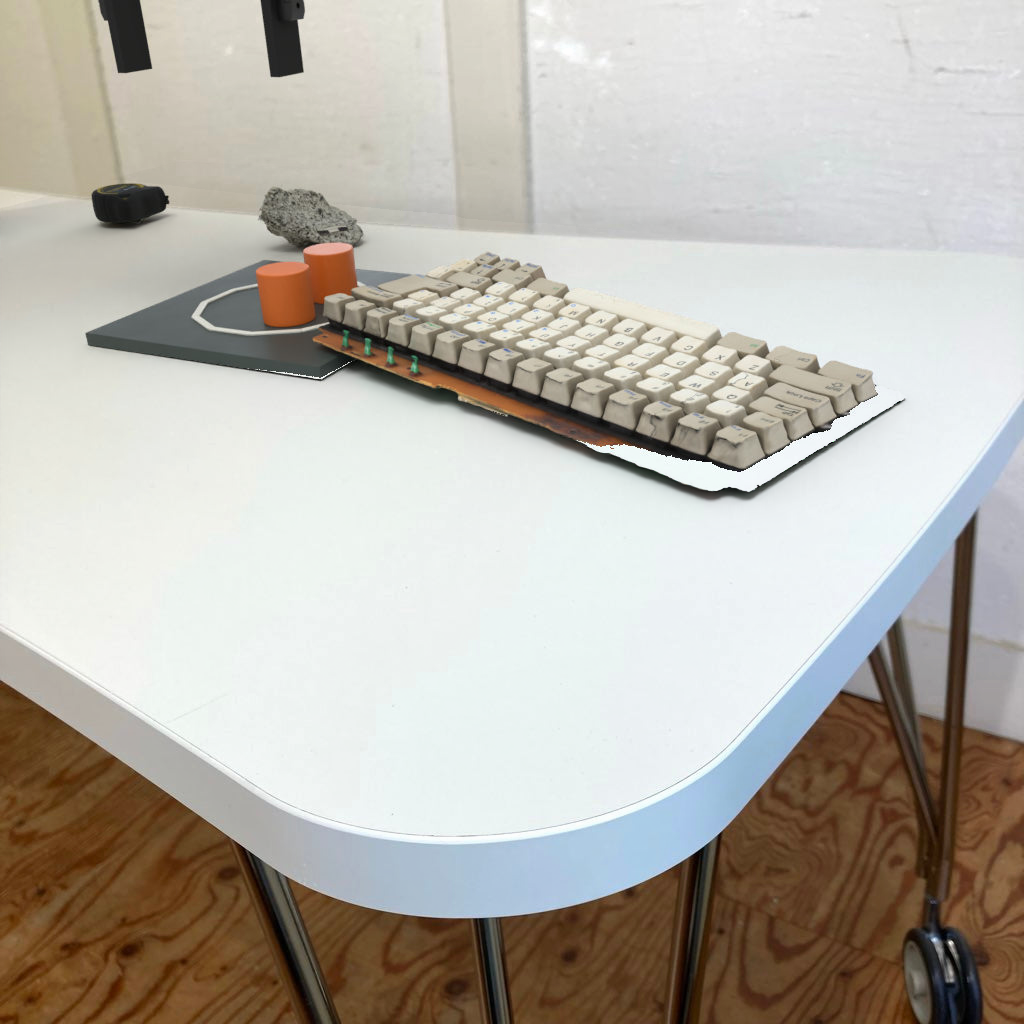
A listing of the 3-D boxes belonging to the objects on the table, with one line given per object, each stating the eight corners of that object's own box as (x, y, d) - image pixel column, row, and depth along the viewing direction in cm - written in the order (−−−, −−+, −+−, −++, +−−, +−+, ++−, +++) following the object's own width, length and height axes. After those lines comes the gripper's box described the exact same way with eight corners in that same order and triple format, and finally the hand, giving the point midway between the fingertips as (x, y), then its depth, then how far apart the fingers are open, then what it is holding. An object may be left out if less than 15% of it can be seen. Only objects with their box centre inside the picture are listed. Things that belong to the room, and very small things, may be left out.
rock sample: (329, 219, 99) (292, 148, 101) (277, 271, 102) (242, 200, 105) (396, 243, 108) (360, 177, 110) (346, 290, 111) (312, 225, 113)
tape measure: (131, 231, 116) (123, 196, 114) (83, 227, 119) (75, 192, 117) (172, 216, 122) (166, 183, 120) (126, 213, 124) (119, 180, 122)
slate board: (87, 345, 82) (84, 331, 82) (265, 270, 99) (263, 258, 99) (321, 380, 73) (319, 365, 73) (472, 291, 90) (471, 278, 90)
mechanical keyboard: (906, 398, 66) (915, 346, 64) (733, 511, 54) (738, 452, 52) (479, 284, 89) (478, 244, 87) (293, 345, 77) (287, 300, 76)
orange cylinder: (252, 324, 82) (244, 273, 80) (284, 309, 85) (277, 259, 83) (295, 329, 80) (287, 277, 78) (326, 314, 83) (319, 263, 81)
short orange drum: (299, 301, 86) (292, 252, 84) (328, 288, 89) (322, 240, 88) (340, 306, 85) (334, 256, 83) (368, 292, 88) (362, 244, 86)
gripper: (356, -321, 62) (388, 69, 72) (48, -274, 72) (114, 63, 82) (277, -345, 56) (324, 83, 67) (-46, -290, 66) (38, 75, 77)
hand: (208, 73), depth 74 cm, fingers open, 13 cm apart
